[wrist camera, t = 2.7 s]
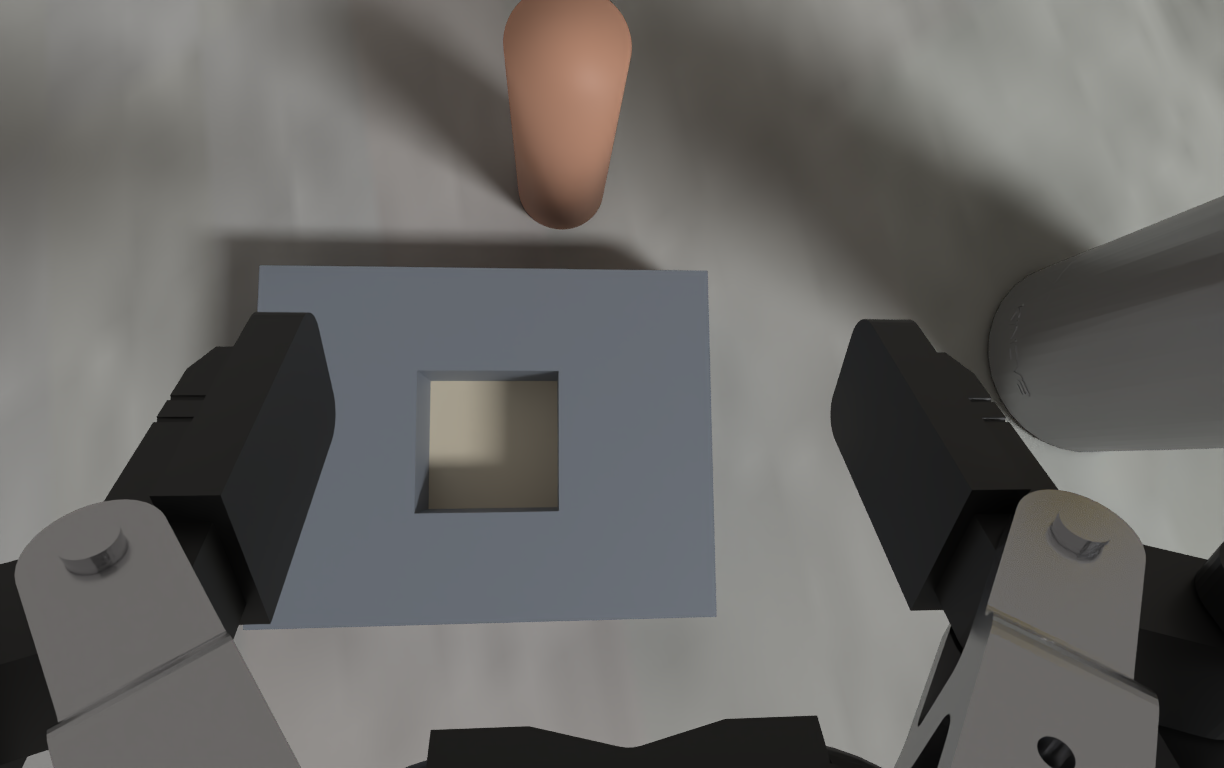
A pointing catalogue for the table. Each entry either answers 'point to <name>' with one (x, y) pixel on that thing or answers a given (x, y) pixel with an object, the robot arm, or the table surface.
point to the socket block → (505, 446)
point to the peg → (564, 103)
